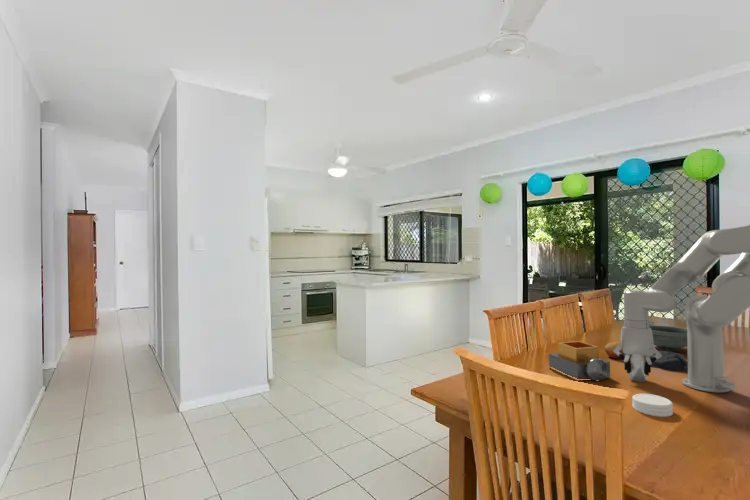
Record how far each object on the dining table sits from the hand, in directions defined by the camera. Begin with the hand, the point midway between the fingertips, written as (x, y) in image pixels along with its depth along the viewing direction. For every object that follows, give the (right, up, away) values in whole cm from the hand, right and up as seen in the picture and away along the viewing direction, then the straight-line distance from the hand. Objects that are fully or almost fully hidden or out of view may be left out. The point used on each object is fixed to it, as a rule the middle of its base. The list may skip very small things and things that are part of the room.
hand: (637, 372), depth 143 cm
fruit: (+10, -3, +29) cm, 31 cm away
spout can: (0, -2, 0) cm, 2 cm away
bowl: (+43, -2, +42) cm, 60 cm away
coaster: (-14, -3, -27) cm, 30 cm away
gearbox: (-17, -3, +9) cm, 19 cm away
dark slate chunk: (+26, -3, +20) cm, 33 cm away
